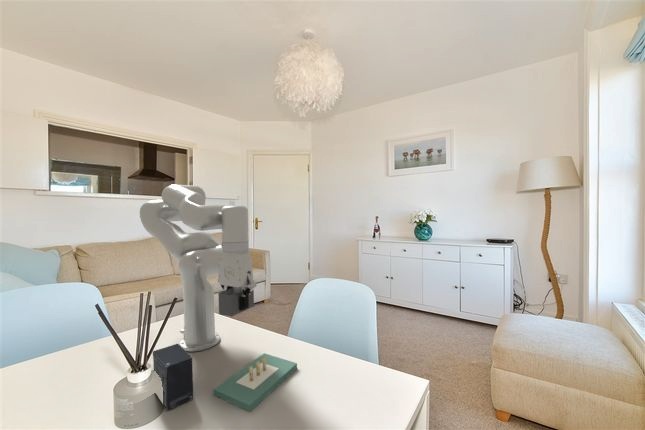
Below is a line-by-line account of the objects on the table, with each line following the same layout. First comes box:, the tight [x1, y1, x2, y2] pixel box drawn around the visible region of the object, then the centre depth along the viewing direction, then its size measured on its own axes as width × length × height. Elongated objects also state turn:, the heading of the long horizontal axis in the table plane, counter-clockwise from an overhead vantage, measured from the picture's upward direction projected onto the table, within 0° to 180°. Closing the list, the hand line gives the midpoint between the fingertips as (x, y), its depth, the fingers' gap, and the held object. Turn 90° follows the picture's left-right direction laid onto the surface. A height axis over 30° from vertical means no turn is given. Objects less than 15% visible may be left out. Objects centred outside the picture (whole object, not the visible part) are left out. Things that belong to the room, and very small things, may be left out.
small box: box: [152, 343, 194, 412], centre depth 70 cm, size 11×6×10 cm, turn 45°
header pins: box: [249, 357, 266, 381], centre depth 76 cm, size 1×6×4 cm, turn 151°
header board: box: [212, 352, 298, 412], centre depth 76 cm, size 12×19×2 cm, turn 151°
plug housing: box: [217, 287, 255, 317], centre depth 85 cm, size 5×9×6 cm, turn 151°
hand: (236, 306), depth 85 cm, fingers closed on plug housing, 5 cm apart
